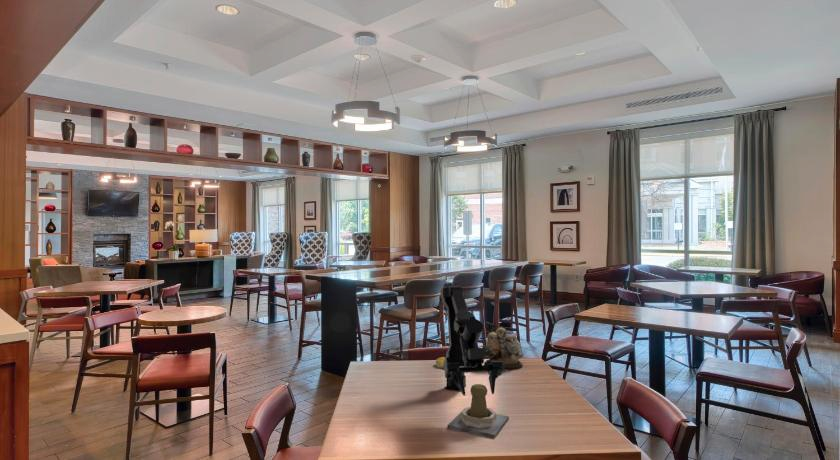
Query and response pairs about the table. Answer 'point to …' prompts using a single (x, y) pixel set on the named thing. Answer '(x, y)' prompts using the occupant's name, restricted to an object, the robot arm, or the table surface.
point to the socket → (479, 423)
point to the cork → (478, 401)
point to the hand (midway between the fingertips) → (478, 394)
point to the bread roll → (440, 362)
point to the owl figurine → (504, 349)
